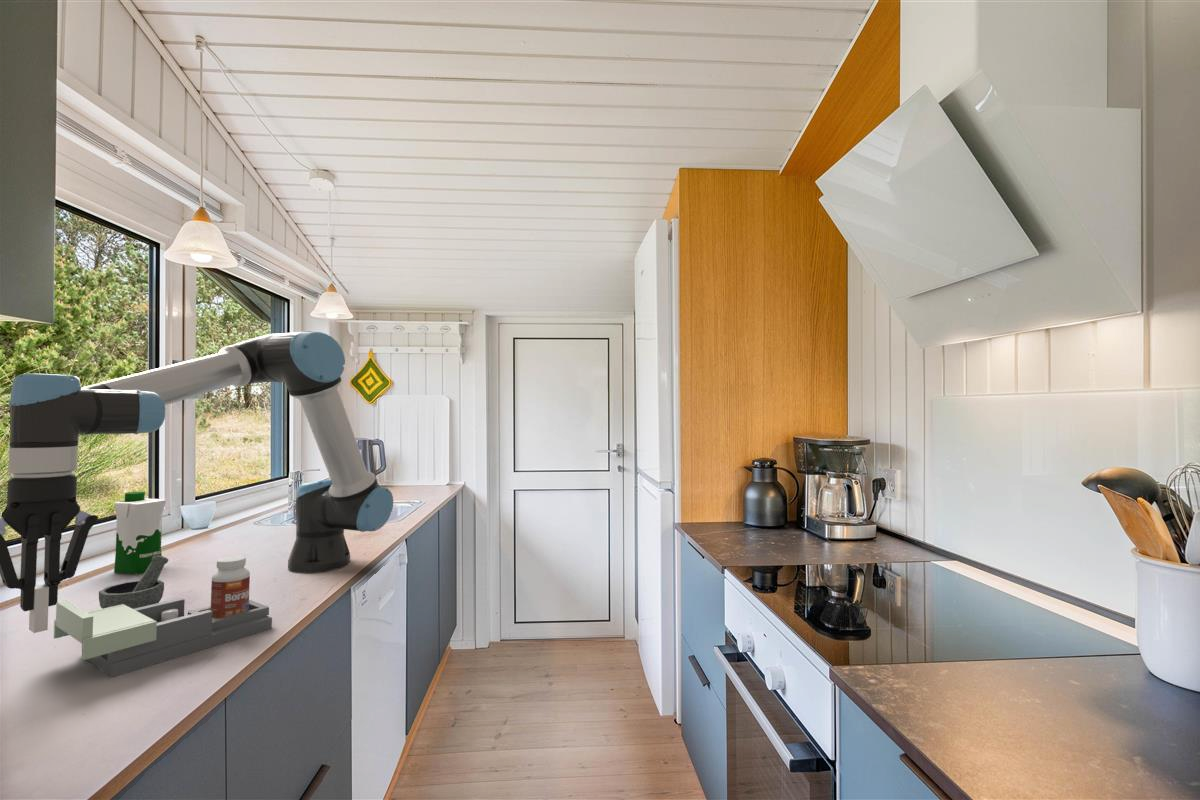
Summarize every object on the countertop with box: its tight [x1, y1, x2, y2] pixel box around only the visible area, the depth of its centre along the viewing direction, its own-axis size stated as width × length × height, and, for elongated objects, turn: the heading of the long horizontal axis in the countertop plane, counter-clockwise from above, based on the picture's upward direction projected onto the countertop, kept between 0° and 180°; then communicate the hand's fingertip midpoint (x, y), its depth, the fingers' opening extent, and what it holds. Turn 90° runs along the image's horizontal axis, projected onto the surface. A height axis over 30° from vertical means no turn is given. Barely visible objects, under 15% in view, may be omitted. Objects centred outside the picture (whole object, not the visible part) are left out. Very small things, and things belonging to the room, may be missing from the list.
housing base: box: [81, 597, 273, 678], centre depth 101 cm, size 24×14×6 cm, turn 147°
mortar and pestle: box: [98, 555, 169, 609], centre depth 110 cm, size 11×9×12 cm
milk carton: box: [113, 491, 167, 575], centre depth 145 cm, size 9×9×20 cm
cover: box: [53, 599, 157, 661], centre depth 91 cm, size 9×15×6 cm, turn 57°
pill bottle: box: [210, 555, 251, 619], centre depth 107 cm, size 6×6×11 cm
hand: (38, 629), depth 85 cm, fingers closed
